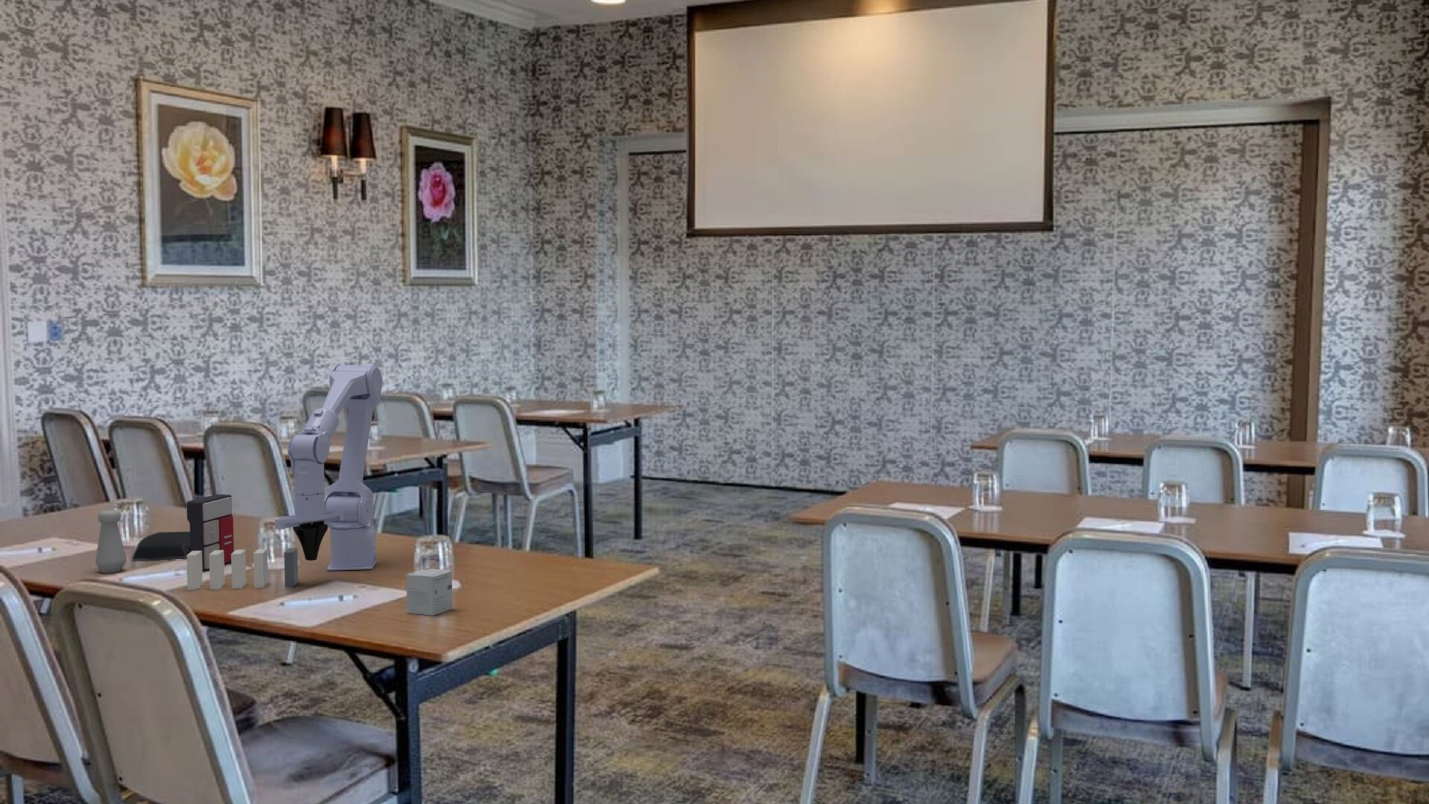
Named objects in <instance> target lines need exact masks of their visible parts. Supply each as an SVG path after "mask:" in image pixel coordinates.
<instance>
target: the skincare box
mask: <svg viewBox="0 0 1429 804" xmlns="http://www.w3.org/2000/svg"><path fill="white" fill-rule="evenodd" d="M452 573H453V571H452V570H450V569H449V570H448V569H438V568H427V567H425V568H423V569H420V570H415V571H413V572H410V573H407V574H406V613H407V614H412V615H413V614H415V615H424V616H436V615H439V614H441V613H444V612H447V611H450V610H452V609H453V576H452V575H453V574H452Z"/></svg>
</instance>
